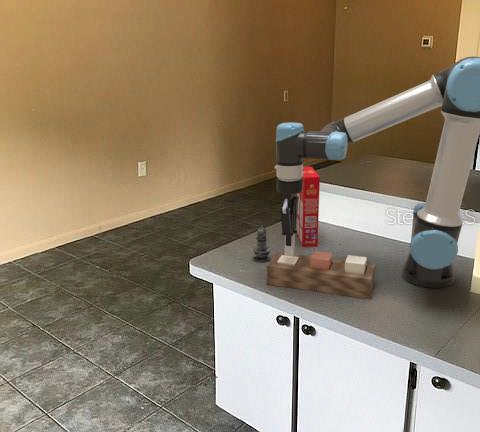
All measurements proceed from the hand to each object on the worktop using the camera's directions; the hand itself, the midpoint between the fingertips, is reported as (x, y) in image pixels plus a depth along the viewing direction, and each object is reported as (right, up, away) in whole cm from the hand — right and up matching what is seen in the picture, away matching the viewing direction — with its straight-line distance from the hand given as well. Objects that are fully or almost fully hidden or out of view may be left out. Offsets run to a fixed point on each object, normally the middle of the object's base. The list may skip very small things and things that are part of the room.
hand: (289, 254), depth 160 cm
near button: (+19, -5, -5) cm, 20 cm away
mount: (+9, -9, 0) cm, 13 cm away
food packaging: (+9, +3, +34) cm, 35 cm away
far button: (0, -5, +2) cm, 6 cm away
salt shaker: (-8, -3, +17) cm, 19 cm away
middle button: (+9, -4, -2) cm, 10 cm away
